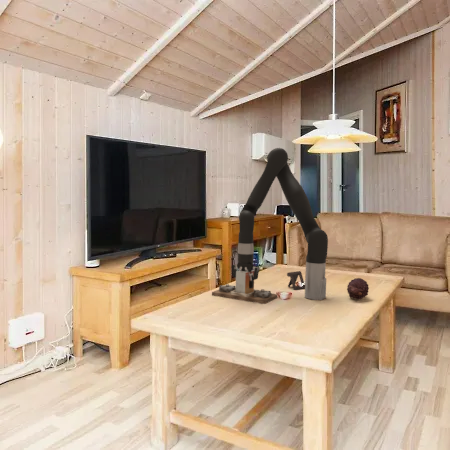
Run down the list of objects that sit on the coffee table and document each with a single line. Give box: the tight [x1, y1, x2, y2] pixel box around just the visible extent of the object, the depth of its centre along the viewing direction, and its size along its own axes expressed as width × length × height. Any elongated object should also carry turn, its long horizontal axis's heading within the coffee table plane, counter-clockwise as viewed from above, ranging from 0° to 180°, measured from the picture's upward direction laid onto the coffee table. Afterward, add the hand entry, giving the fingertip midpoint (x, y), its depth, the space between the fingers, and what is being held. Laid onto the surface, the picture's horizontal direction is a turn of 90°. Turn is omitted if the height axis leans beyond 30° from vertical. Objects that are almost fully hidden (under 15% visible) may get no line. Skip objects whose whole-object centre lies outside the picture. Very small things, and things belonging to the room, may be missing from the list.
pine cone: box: [346, 277, 370, 300], centre depth 204 cm, size 18×10×10 cm, turn 161°
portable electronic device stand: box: [286, 270, 305, 291], centre depth 224 cm, size 9×8×8 cm
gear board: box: [211, 283, 278, 305], centre depth 204 cm, size 28×14×4 cm, turn 60°
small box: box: [235, 269, 255, 294], centre depth 203 cm, size 8×6×10 cm
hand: (244, 287), depth 204 cm, fingers closed on small box, 6 cm apart
